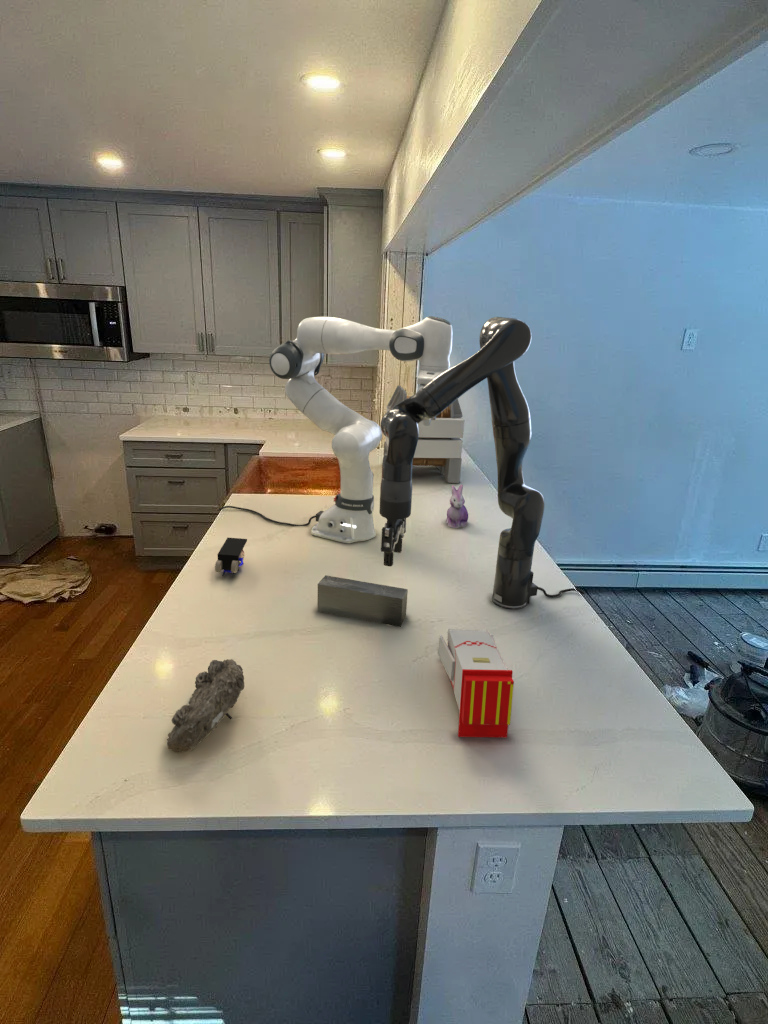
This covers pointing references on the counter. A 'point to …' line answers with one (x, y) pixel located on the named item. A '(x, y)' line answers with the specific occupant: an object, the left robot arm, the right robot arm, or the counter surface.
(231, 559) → the figurine character
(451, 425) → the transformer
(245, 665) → the counter surface
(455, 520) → the figurine
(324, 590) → the bar
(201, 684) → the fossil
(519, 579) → the right robot arm
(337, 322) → the left robot arm
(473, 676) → the toy
